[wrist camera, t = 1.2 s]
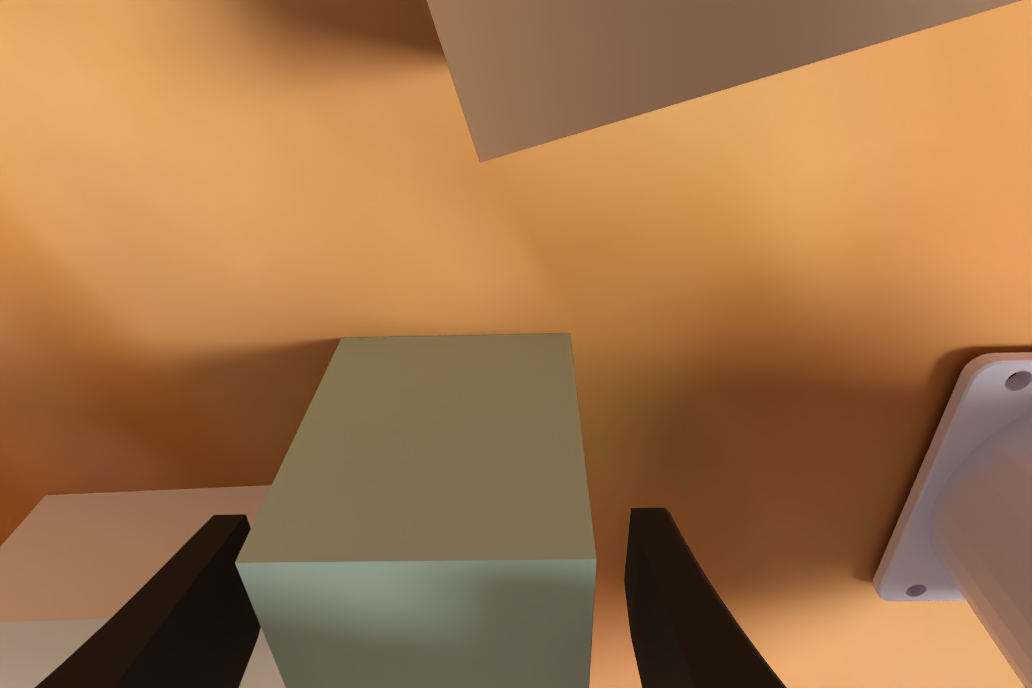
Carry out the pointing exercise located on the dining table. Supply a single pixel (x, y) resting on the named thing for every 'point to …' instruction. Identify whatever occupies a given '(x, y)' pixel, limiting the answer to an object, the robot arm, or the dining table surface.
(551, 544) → the green block
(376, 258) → the dining table surface
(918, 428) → the dining table surface
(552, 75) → the walnut block
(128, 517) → the grey block
